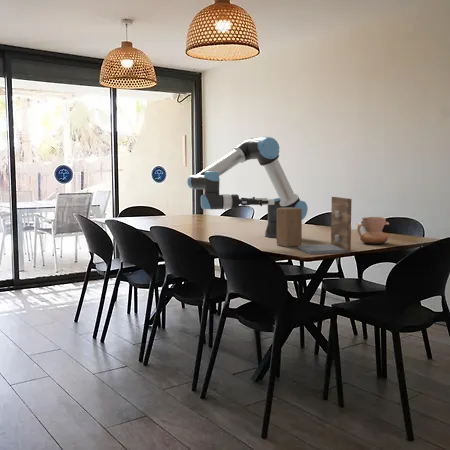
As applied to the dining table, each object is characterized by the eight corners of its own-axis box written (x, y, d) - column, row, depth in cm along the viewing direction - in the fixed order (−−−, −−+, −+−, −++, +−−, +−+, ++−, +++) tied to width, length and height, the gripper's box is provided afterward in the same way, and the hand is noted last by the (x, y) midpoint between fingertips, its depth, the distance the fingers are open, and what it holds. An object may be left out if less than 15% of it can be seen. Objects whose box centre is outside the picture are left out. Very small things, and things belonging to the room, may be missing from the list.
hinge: (374, 237, 309) (369, 221, 308) (367, 240, 309) (361, 224, 308) (368, 233, 325) (362, 218, 325) (360, 236, 326) (355, 221, 325)
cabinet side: (344, 253, 252) (345, 198, 249) (328, 247, 272) (329, 196, 269) (350, 252, 253) (351, 198, 250) (334, 246, 272) (335, 196, 270)
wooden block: (286, 247, 272) (286, 208, 270) (275, 245, 281) (275, 207, 279) (302, 246, 276) (302, 208, 274) (291, 243, 285) (291, 207, 283)
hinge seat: (310, 254, 250) (310, 250, 250) (298, 248, 268) (298, 245, 268) (345, 252, 253) (345, 249, 253) (331, 247, 271) (331, 244, 271)
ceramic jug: (382, 241, 292) (382, 215, 291) (394, 244, 278) (394, 217, 277) (351, 242, 290) (351, 217, 288) (362, 246, 276) (362, 219, 274)
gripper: (226, 207, 283) (264, 206, 287) (235, 210, 259) (277, 210, 262) (226, 193, 282) (264, 193, 286) (235, 195, 258) (277, 195, 262)
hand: (270, 201), depth 274 cm, fingers open, 13 cm apart
